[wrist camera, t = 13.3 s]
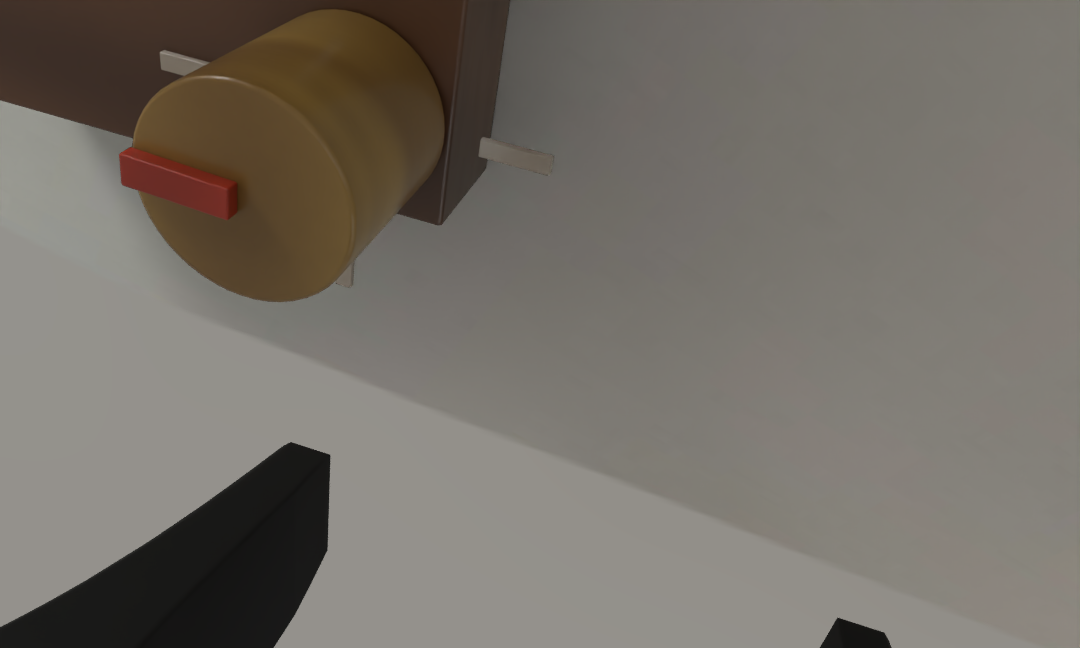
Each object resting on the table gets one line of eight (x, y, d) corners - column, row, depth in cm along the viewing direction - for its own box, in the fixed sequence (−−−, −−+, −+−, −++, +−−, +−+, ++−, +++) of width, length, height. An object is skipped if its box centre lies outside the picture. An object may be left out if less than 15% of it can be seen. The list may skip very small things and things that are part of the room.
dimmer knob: (461, 43, 15) (356, 129, 12) (431, 226, 18) (336, 343, 14) (263, -19, 16) (107, 48, 12) (259, 168, 18) (125, 270, 15)
